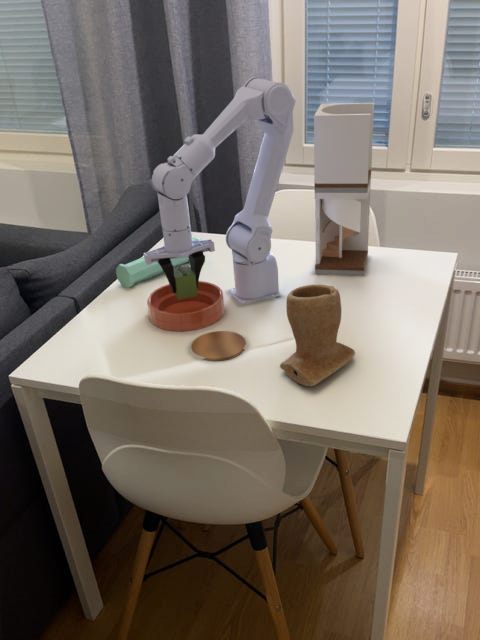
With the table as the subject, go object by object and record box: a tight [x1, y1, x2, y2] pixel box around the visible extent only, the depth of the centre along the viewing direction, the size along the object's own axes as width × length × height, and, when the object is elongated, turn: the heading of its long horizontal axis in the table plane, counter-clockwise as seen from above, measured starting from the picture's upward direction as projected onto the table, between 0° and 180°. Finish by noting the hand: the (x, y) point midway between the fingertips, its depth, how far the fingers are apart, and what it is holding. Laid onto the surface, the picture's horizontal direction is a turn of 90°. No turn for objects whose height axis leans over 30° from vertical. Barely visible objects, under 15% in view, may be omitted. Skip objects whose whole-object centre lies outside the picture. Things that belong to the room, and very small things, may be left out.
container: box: [115, 236, 203, 288], centre depth 170 cm, size 6×6×25 cm
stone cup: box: [279, 284, 356, 387], centre depth 126 cm, size 15×12×15 cm
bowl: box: [146, 280, 225, 332], centre depth 150 cm, size 16×16×4 cm
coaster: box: [190, 330, 247, 362], centre depth 139 cm, size 11×11×1 cm
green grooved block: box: [174, 264, 198, 300], centre depth 146 cm, size 4×5×5 cm
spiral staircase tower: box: [313, 102, 375, 277], centre depth 156 cm, size 11×11×35 cm
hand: (184, 288), depth 147 cm, fingers closed on green grooved block, 4 cm apart
